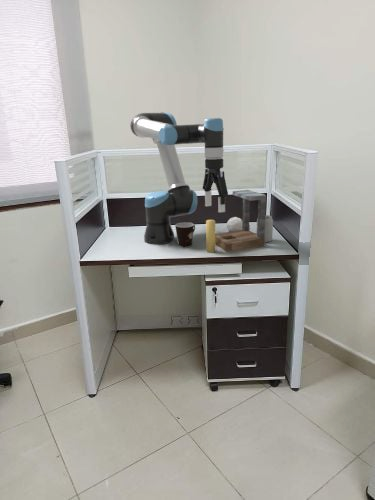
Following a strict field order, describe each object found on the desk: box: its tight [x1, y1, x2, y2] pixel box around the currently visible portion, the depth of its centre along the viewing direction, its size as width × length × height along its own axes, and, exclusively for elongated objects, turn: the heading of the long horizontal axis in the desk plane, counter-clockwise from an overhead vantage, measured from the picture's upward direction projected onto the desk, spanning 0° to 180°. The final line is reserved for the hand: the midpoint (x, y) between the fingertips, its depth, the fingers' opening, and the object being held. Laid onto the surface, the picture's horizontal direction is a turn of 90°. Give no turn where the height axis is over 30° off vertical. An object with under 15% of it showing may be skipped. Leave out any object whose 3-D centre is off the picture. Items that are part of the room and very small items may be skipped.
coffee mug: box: [174, 221, 196, 248], centre depth 164 cm, size 12×9×10 cm
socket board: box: [215, 189, 267, 253], centre depth 160 cm, size 16×19×24 cm
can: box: [256, 214, 274, 244], centre depth 165 cm, size 8×8×12 cm
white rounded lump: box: [226, 216, 251, 232], centre depth 178 cm, size 9×9×12 cm
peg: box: [205, 219, 216, 254], centre depth 154 cm, size 4×4×14 cm
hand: (214, 209), depth 150 cm, fingers open, 13 cm apart
